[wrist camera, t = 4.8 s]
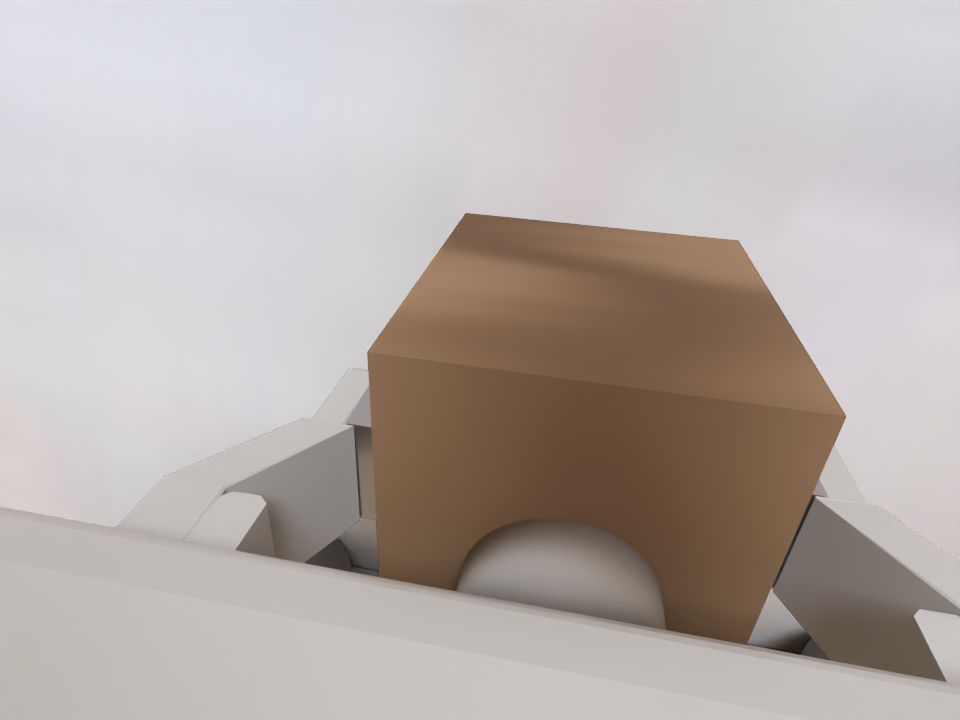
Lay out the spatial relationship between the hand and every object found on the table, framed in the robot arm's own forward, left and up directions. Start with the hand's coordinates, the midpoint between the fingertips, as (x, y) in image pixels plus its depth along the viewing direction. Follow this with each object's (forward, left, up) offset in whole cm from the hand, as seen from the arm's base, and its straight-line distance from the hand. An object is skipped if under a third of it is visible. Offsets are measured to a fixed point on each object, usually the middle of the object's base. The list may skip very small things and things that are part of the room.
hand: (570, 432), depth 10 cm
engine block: (0, 0, -2) cm, 2 cm away
